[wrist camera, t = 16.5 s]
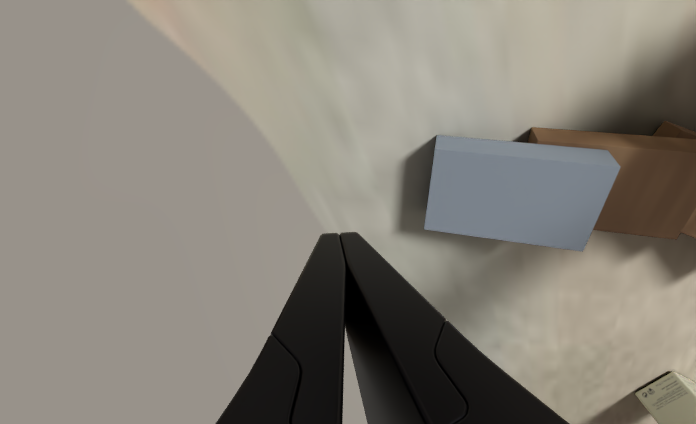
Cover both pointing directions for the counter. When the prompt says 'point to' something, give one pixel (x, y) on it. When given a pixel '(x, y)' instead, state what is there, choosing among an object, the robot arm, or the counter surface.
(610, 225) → the domino
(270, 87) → the counter surface
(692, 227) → the domino
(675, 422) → the skincare box
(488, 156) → the domino
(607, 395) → the counter surface
